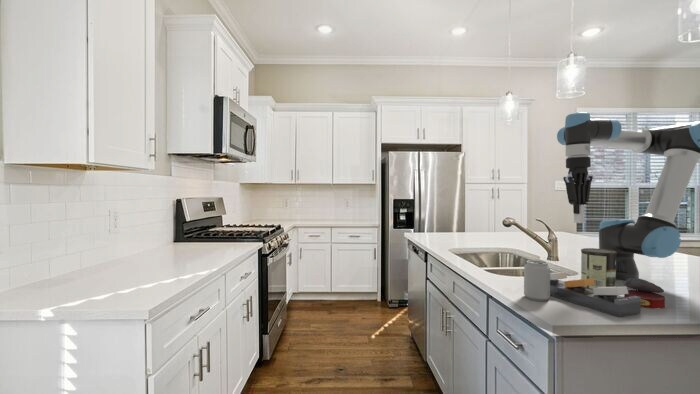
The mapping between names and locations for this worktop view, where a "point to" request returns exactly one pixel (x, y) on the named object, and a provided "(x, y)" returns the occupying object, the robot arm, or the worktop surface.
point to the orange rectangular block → (579, 282)
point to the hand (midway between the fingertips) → (578, 222)
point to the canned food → (645, 292)
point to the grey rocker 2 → (610, 290)
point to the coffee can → (599, 267)
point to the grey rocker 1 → (558, 275)
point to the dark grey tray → (596, 299)
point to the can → (537, 280)
